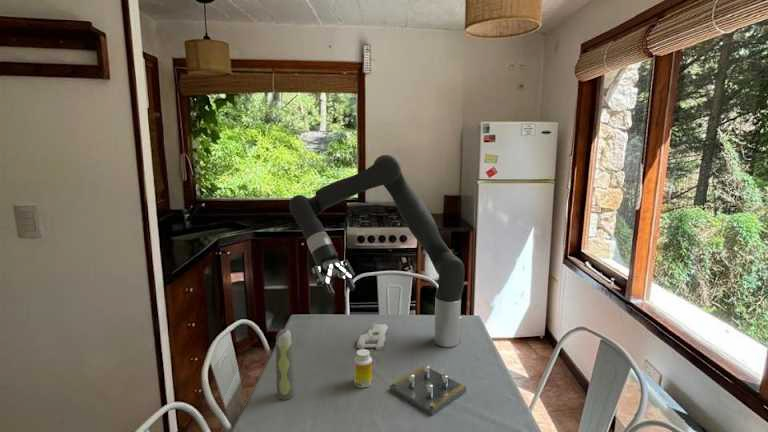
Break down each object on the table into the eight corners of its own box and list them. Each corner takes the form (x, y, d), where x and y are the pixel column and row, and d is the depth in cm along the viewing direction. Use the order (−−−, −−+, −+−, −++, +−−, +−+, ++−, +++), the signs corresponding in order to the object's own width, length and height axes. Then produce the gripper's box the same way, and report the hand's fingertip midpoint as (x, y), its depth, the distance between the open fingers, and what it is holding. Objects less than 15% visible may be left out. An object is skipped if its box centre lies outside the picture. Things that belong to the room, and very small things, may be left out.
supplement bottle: (375, 385, 124) (375, 354, 122) (358, 390, 122) (358, 358, 120) (367, 376, 129) (367, 346, 127) (351, 380, 127) (351, 350, 125)
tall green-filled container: (293, 399, 117) (291, 334, 113) (276, 401, 116) (273, 335, 113) (294, 389, 122) (292, 326, 118) (277, 391, 121) (275, 327, 117)
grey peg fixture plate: (424, 370, 133) (425, 355, 132) (466, 391, 122) (466, 376, 121) (389, 390, 122) (390, 374, 121) (431, 415, 111) (432, 398, 110)
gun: (364, 320, 162) (389, 322, 161) (364, 328, 163) (389, 330, 162) (355, 344, 145) (383, 346, 144) (355, 353, 146) (383, 355, 144)
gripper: (309, 245, 126) (331, 292, 121) (344, 240, 137) (365, 282, 131) (298, 257, 131) (319, 303, 125) (332, 251, 141) (353, 293, 136)
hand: (343, 292), depth 128 cm, fingers open, 8 cm apart
